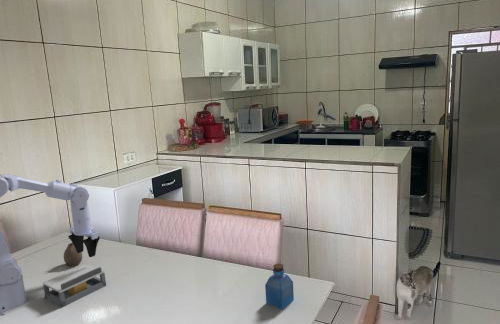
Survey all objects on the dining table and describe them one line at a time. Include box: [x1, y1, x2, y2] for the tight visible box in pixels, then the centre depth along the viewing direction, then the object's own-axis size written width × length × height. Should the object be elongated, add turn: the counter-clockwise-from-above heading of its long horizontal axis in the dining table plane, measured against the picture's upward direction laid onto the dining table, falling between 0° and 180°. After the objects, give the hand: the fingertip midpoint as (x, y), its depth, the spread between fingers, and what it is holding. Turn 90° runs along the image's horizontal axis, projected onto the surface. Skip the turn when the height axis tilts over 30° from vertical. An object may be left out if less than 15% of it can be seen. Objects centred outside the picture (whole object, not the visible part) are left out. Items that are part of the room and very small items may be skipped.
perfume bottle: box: [264, 263, 295, 310], centre depth 120 cm, size 6×6×12 cm
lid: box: [42, 263, 105, 293], centre depth 132 cm, size 16×11×2 cm
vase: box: [63, 242, 83, 267], centre depth 157 cm, size 7×7×9 cm
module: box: [68, 281, 87, 295], centre depth 132 cm, size 4×4×5 cm
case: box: [42, 272, 107, 308], centre depth 133 cm, size 16×11×6 cm
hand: (86, 254), depth 142 cm, fingers open, 7 cm apart
